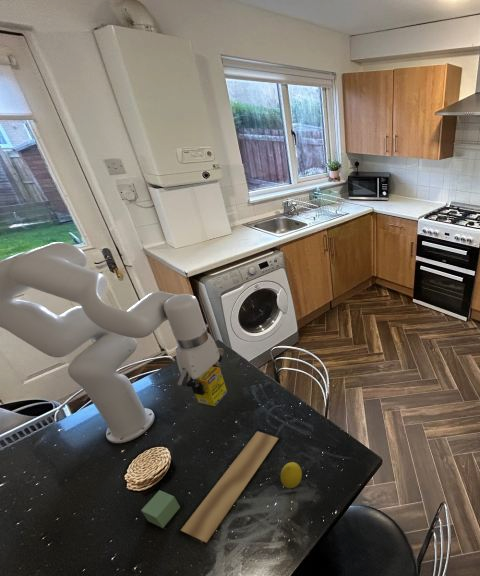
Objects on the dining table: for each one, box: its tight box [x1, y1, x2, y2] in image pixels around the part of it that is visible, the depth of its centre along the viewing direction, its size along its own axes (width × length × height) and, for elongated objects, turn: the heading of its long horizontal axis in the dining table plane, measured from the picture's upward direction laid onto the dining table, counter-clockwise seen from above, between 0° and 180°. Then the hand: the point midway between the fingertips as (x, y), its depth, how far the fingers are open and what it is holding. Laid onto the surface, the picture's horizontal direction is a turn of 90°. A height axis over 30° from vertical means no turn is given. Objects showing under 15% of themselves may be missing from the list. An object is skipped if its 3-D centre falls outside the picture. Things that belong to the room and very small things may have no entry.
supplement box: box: [193, 366, 228, 408], centre depth 93 cm, size 6×6×11 cm
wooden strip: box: [180, 430, 280, 544], centre depth 87 cm, size 8×29×1 cm, turn 162°
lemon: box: [280, 461, 303, 489], centre depth 84 cm, size 6×6×8 cm
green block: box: [140, 489, 181, 529], centre depth 78 cm, size 5×5×5 cm
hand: (208, 384), depth 93 cm, fingers closed on supplement box, 6 cm apart
